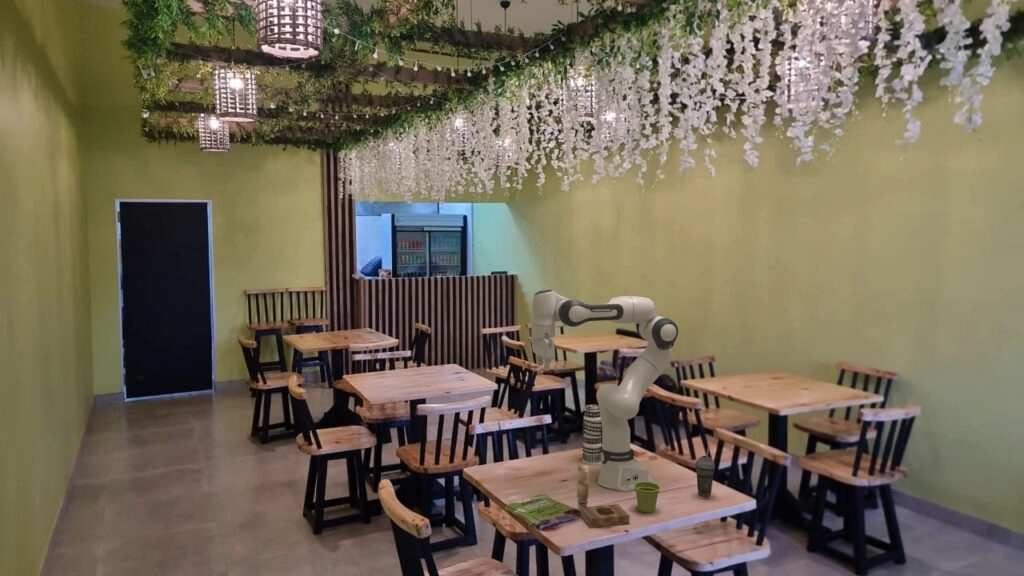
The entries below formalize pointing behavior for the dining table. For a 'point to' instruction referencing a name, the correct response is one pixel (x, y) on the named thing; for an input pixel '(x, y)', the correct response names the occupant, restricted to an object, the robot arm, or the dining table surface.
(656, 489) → the plant pot
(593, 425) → the decorative candle
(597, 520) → the brown wooden frame
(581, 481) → the peg
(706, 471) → the beverage cup
